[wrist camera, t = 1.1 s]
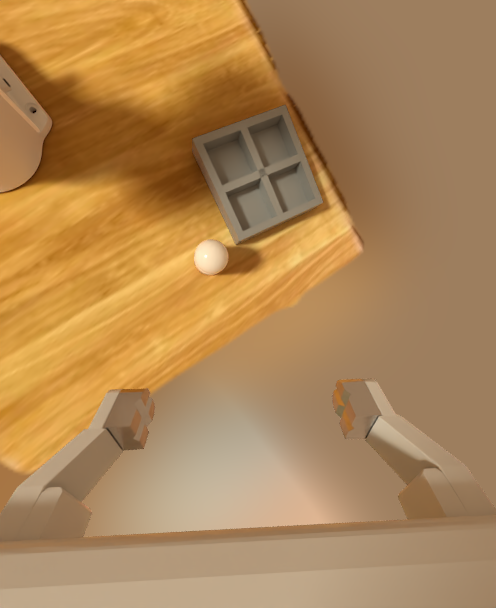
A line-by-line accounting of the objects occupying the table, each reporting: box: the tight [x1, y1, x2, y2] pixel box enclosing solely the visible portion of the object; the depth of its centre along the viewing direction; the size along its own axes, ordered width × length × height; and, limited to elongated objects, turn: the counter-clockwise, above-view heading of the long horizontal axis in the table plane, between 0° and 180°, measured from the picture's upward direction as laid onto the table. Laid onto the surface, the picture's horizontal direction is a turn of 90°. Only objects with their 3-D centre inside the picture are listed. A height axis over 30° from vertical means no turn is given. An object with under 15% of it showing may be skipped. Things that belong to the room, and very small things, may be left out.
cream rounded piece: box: [194, 239, 229, 276], centre depth 37 cm, size 5×5×9 cm
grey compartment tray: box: [192, 105, 323, 245], centre depth 40 cm, size 17×17×4 cm
